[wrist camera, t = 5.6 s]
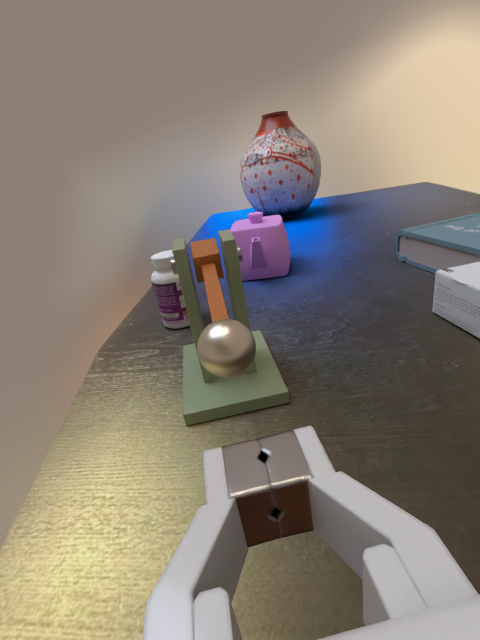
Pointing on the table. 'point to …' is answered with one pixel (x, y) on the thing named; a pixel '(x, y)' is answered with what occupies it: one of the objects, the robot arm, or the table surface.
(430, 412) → the table surface
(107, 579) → the table surface
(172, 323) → the pill bottle
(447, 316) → the small box
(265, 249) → the teapot
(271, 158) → the vase
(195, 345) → the bracket
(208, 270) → the lever
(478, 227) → the book
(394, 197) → the table surface
